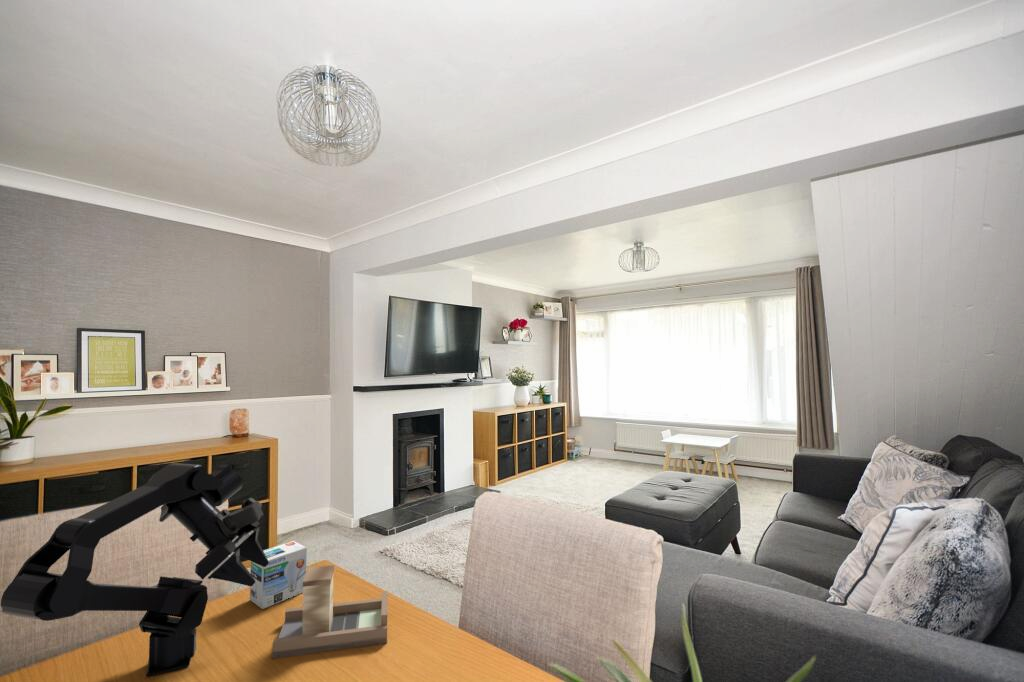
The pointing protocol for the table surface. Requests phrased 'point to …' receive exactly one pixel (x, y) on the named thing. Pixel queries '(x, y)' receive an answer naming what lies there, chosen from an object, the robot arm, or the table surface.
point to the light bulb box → (279, 574)
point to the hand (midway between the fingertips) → (260, 574)
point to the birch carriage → (317, 600)
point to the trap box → (335, 629)
